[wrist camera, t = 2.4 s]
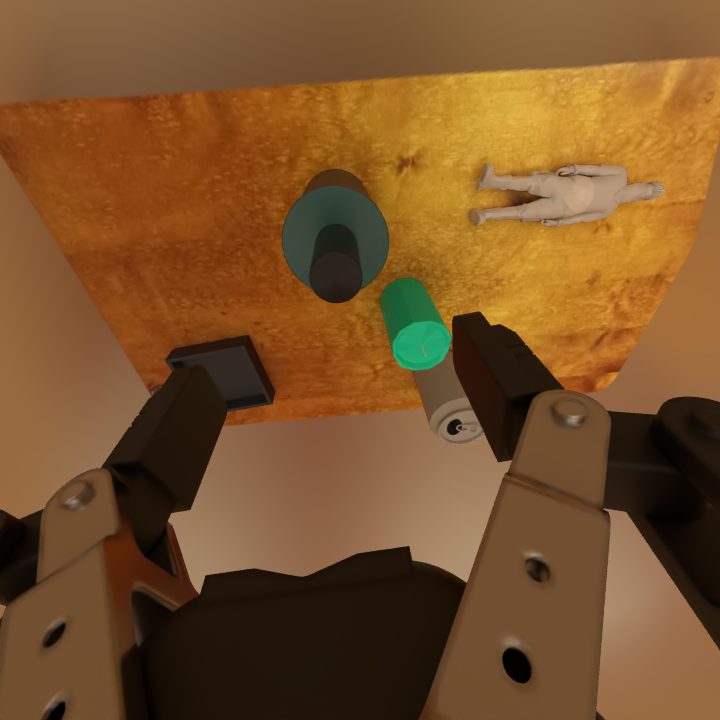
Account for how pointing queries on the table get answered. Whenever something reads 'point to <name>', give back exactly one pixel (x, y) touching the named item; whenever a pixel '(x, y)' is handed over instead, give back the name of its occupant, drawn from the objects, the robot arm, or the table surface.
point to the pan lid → (335, 241)
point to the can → (447, 404)
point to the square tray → (229, 370)
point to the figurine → (565, 194)
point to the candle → (414, 325)
